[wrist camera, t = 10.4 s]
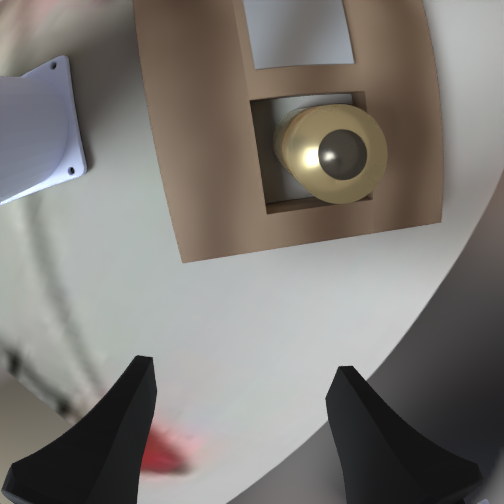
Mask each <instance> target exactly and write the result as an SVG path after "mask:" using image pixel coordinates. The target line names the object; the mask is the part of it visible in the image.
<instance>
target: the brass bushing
mask: <svg viewBox="0 0 504 504" xmlns="http://www.w3.org/2000/svg"><path fill="white" fill-rule="evenodd" d="M273 149H274V152H275V155H276V157H277V159H278V161H279V162H280V163H281V164H282V165H283V166H284V167H285V168H286V169H287V170H288V171H289V172H290V173H291V174H292V175H293V176H294V177H295V178H296V179H297V181H298V182H299V183H300V184H301V185H302V186H303V187H304V188H305V189H306V190H307V191H308V192H309V193H311V194H312V195H313V196H315V197H317V198H318V199H320V200H323V201H325V202H329V203H334V204H346V203H351V202H355V201H357V200H360V199H361V198H363V197H365V196H366V195H368V194H369V193H370V192H371V191H372V190H373V189H375V187H376V186H377V185H378V183H379V182H380V180H381V179H382V177H383V174H384V172H385V169H386V165H387V157H388V151H387V143H386V140H385V136H384V134H383V132H382V130H381V128H380V126H379V125H378V124H377V122H376V121H375V120H374V119H373V118H372V117H371V116H370V115H369V114H368V113H366V112H365V111H363V110H361V109H359V108H357V107H354V106H351V105H347V104H331V105H323V106H315V107H308V108H301V109H297V110H294V111H292V112H290V113H288V114H287V115H285V116H284V117H283V118H282V119H281V120H280V121H279V123H278V124H277V126H276V128H275V131H274V135H273Z"/></svg>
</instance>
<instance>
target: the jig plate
mask: <svg viewBox="0 0 504 504" xmlns="http://www.w3.org/2000/svg"><path fill="white" fill-rule="evenodd" d="M133 7H134V16H135V25H136V34H137V42H138V49H139V56H140V63H141V70H142V77H143V83H144V89H145V95H146V101H147V107H148V113H149V118H150V124H151V129H152V134H153V139H154V144H155V149H156V154H157V159H158V164H159V168H160V173H161V178H162V182H163V187H164V191H165V195H166V200H167V204H168V208H169V212H170V216H171V220H172V225H173V229H174V233H175V236H176V240H177V244H178V248H179V252H180V256H181V259H182V263H188V262H194V261H200V260H207V259H213V258H219V257H226V256H232V255H238V254H245V253H251V252H258V251H264V250H270V249H277V248H283V247H289V246H296V245H302V244H308V243H315V242H321V241H327V240H334V239H340V238H346V237H353V236H359V235H365V234H371V233H378V232H384V231H390V230H397V229H403V228H409V227H416V226H422V225H428V224H435V223H441V218H442V200H443V137H442V119H441V107H440V97H439V88H438V80H437V72H436V66H435V59H434V54H433V48H432V43H431V38H430V33H429V28H428V24H427V20H426V15H425V11H424V7H423V4H422V0H133ZM350 93H351V94H352V101H353V106H354V107H357V108H359V109H361V110H363V111H365V112H366V113H368V114H369V115H370V116H371V117H372V118H373V119H374V120H375V121H376V122H377V124H378V125H379V126H380V128H381V130H382V132H383V134H384V136H385V140H386V143H387V151H388V157H387V165H386V169H385V172H384V174H383V177H382V179H381V180H380V182H379V183H378V185H377V186H376V187H375V189H373V190H372V191H371V192H370V193H369V194H368V195H366V196H365V197H363V198H361V199H360V200H357V201H355V202H351V203H346V204H334V203H329V202H325V201H323V200H320V199H318V198H317V197H311V198H304V199H297V200H290V201H283V202H276V203H269V204H265V199H264V192H263V186H262V179H261V172H260V165H259V159H258V152H257V146H256V139H255V133H254V126H253V120H252V113H251V107H250V102H253V101H261V100H269V99H277V98H287V97H298V96H310V95H326V94H350Z"/></svg>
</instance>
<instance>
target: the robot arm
mask: <svg viewBox="0 0 504 504" xmlns="http://www.w3.org/2000/svg"><path fill="white" fill-rule="evenodd" d="M55 63H56V64H57V66H56V68H55V69H53V66H54V64H55ZM71 167H73V168H74V170H75V173H74V174H73V173H72V172H71ZM86 171H87V164H86V160H85V156H84V151H83V146H82V142H81V137H80V131H79V126H78V121H77V115H76V109H75V103H74V96H73V89H72V82H71V74H70V65H69V59H68V57H67V56H63V55H61V56H58V57H56V58H54V59H52V60H50V61H48V62H46V63H44V64H42V65H40V66H39V67H37V68H35V69H33V70H31V71H29V72H28V73H26V74H24V75H22V76H21V77H9V76H0V205H3V204H5V203H8V202H10V201H13V200H15V199H18V198H20V197H23V196H26V195H28V194H31V193H34V192H36V191H39V190H42V189H45V188H47V187H50V186H53V185H56V184H59V183H62V182H65V181H68V180H71V179H74V178H77V177H80V176H82V175H84V174H85V173H86ZM156 396H157V387H156V380H155V373H154V365H153V357H146V356H139V355H137V356H136V357H134V359H133V360H132V362H131V363H130V364H129V366H128V367H127V369H126V370H125V371H124V373H123V374H122V375H121V376H120V378H119V379H118V380H117V382H116V383H115V384H114V385H113V386H112V388H111V389H110V390H109V391H108V392H107V393H106V395H105V396H104V397H103V398H102V399H101V400H100V401H99V402H98V403H97V404H96V405H95V406H94V408H93V409H92V410H91V411H90V412H89V413H88V414H87V415H85V416H84V417H83V418H82V419H81V420H80V421H79V422H78V423H77V424H75V425H74V426H73V427H72V428H70V429H69V430H68V431H67V432H65V433H64V434H63V435H62V436H60V437H59V438H57V439H56V440H54V441H53V442H51V443H50V444H48V445H47V446H45V447H43V448H42V449H41V450H39V451H37V452H35V453H34V454H31V455H29V456H28V457H25V458H23V459H21V460H19V461H17V462H15V463H12V465H11V467H10V469H9V471H8V474H7V476H6V478H5V481H4V484H3V487H2V490H1V491H2V493H3V495H4V496H5V497H6V498H8V499H9V500H10V501H12V502H13V503H14V504H137V495H138V484H139V475H140V467H141V462H142V458H143V454H144V450H145V446H146V442H147V438H148V434H149V431H150V427H151V423H152V419H153V415H154V410H155V403H156ZM325 400H326V407H327V414H328V420H329V423H330V427H331V431H332V434H333V437H334V441H335V444H336V447H337V451H338V455H339V458H340V462H341V466H342V470H343V476H344V482H345V490H346V500H347V504H465V503H464V500H463V498H465V497H466V496H467V495H469V494H470V493H471V492H473V491H474V490H475V489H476V488H478V487H479V486H480V485H481V484H482V483H483V481H484V477H483V475H482V473H481V471H480V468H479V466H478V465H477V464H476V463H474V462H471V461H469V460H466V459H464V458H461V457H458V456H456V455H455V454H452V453H451V452H449V451H447V450H445V449H443V448H441V447H440V446H438V445H436V444H435V443H433V442H432V441H430V440H429V439H427V438H425V437H424V436H423V435H421V434H420V433H419V432H417V431H416V430H415V429H413V428H412V427H411V426H410V425H408V424H407V423H406V422H405V421H404V420H403V419H402V418H401V417H399V416H398V415H397V414H396V413H395V412H394V411H393V410H392V409H391V408H390V407H389V406H388V405H387V404H386V403H385V402H384V401H383V399H382V398H381V397H380V396H379V395H378V394H377V393H376V392H375V391H374V390H373V389H372V387H371V386H370V385H369V384H368V383H367V382H366V381H365V379H364V378H363V377H362V376H361V375H360V374H359V373H358V371H357V370H356V369H355V368H354V367H353V366H339V367H338V369H337V372H336V374H335V377H334V379H333V382H332V384H331V386H330V389H329V391H328V393H327V396H326V398H325ZM478 504H489V502H488V500H487V499H485V500H483V501H481V502H480V503H478Z"/></svg>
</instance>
